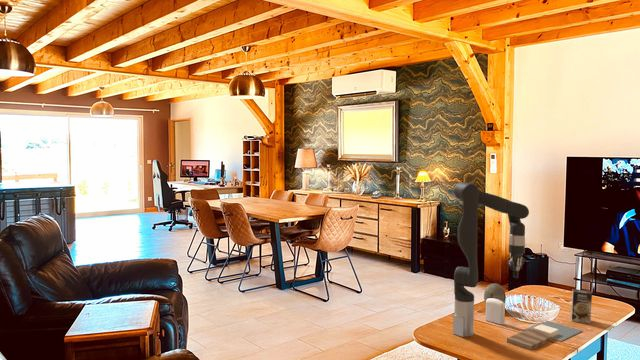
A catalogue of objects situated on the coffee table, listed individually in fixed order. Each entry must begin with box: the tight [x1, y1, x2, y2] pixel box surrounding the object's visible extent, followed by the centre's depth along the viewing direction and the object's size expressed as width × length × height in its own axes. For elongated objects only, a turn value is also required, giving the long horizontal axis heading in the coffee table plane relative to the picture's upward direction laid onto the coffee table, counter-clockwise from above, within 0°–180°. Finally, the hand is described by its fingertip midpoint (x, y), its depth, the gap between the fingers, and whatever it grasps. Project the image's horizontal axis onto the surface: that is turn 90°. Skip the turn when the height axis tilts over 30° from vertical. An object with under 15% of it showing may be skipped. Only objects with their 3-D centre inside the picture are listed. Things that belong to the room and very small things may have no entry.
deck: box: [506, 329, 554, 351], centre depth 249 cm, size 20×12×2 cm, turn 128°
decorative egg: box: [483, 282, 506, 305], centre depth 295 cm, size 12×12×15 cm
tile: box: [533, 324, 559, 337], centre depth 257 cm, size 8×9×2 cm
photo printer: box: [484, 298, 506, 325], centre depth 274 cm, size 10×4×12 cm, turn 39°
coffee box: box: [570, 288, 593, 324], centre depth 277 cm, size 9×6×16 cm
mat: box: [523, 320, 583, 343], centre depth 262 cm, size 22×19×1 cm
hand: (515, 277), depth 262 cm, fingers closed
